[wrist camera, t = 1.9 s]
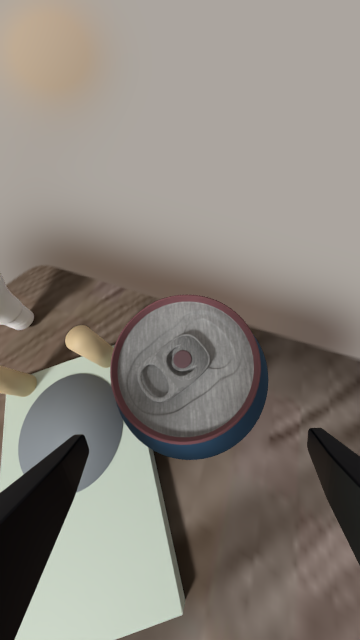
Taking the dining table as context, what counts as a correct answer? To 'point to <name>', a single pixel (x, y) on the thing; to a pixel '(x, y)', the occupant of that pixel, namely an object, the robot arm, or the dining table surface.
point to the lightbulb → (13, 310)
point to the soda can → (188, 377)
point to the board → (92, 503)
